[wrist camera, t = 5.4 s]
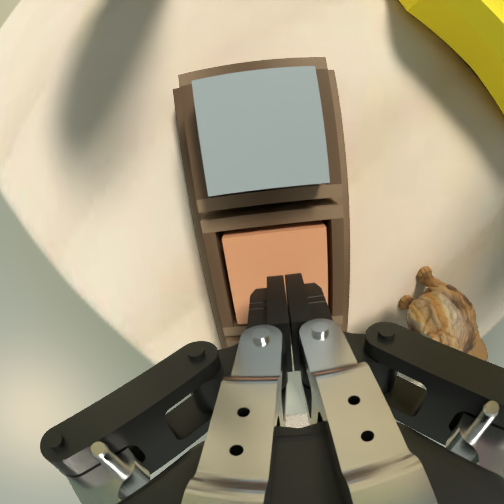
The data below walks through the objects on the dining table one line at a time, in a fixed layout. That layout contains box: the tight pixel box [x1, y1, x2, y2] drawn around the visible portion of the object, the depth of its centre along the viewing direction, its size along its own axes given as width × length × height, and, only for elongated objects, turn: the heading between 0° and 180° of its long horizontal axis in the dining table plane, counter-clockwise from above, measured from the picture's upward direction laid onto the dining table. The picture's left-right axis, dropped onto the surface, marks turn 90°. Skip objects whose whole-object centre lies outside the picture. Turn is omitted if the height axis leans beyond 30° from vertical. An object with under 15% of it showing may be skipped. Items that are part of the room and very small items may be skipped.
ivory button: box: [286, 344, 307, 416], centre depth 16 cm, size 5×5×3 cm
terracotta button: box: [222, 220, 328, 324], centre depth 15 cm, size 5×5×3 cm
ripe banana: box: [399, 0, 504, 114], centre depth 8 cm, size 18×7×8 cm
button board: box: [173, 57, 350, 349], centre depth 16 cm, size 9×21×4 cm, turn 7°
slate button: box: [192, 66, 330, 197], centre depth 11 cm, size 5×5×3 cm
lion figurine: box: [400, 267, 488, 361], centre depth 15 cm, size 15×5×9 cm, turn 60°
